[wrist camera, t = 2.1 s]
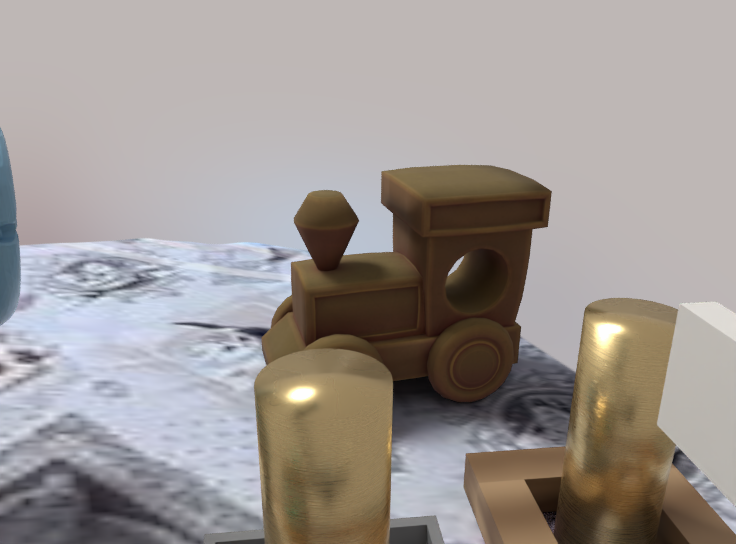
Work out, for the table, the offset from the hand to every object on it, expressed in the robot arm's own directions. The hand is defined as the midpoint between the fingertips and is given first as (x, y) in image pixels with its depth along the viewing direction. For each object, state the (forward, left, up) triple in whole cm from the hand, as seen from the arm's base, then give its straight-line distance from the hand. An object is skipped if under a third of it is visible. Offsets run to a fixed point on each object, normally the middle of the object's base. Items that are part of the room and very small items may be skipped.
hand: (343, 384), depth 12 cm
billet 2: (+2, +21, -20) cm, 29 cm away
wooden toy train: (-17, +30, -20) cm, 40 cm away
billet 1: (-6, +7, -20) cm, 22 cm away
